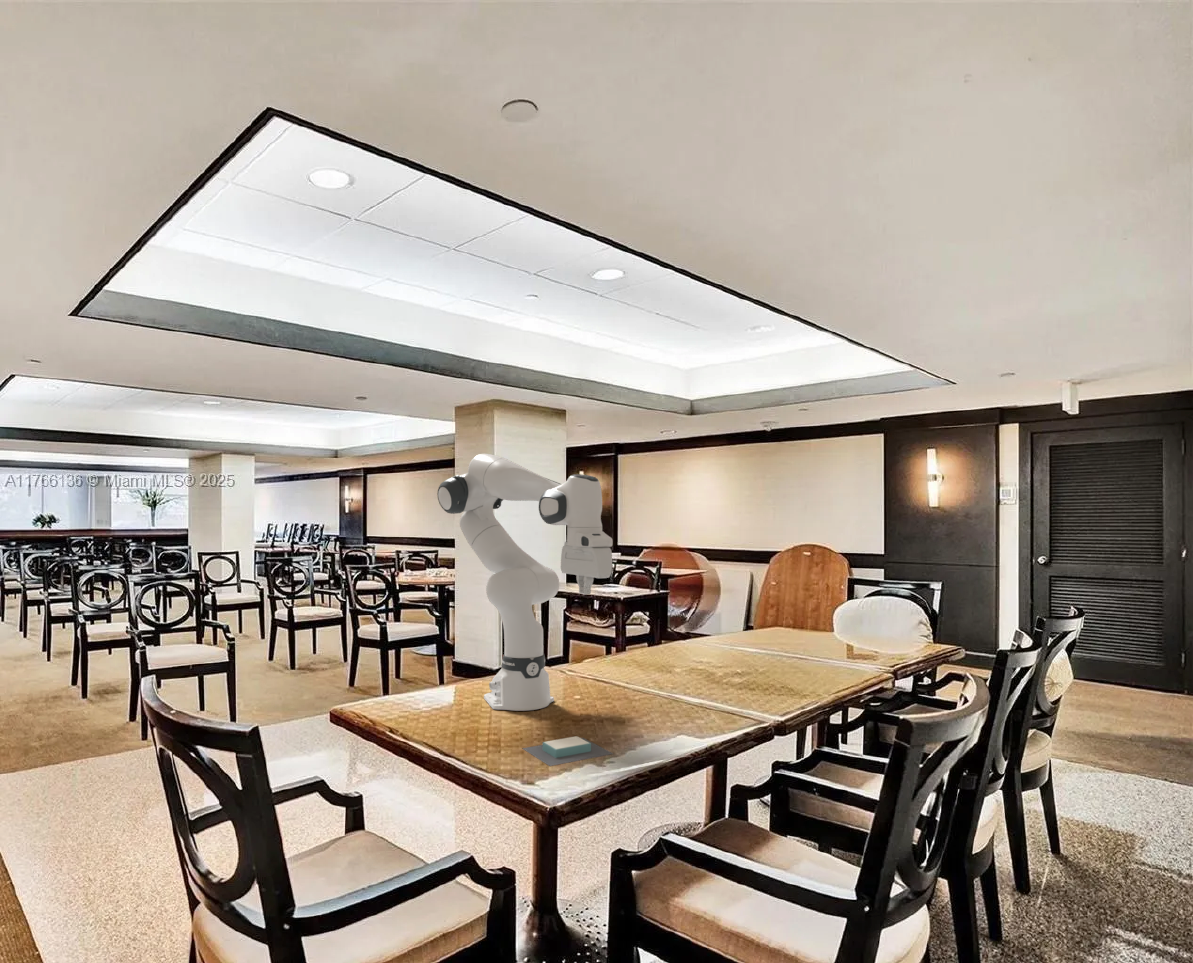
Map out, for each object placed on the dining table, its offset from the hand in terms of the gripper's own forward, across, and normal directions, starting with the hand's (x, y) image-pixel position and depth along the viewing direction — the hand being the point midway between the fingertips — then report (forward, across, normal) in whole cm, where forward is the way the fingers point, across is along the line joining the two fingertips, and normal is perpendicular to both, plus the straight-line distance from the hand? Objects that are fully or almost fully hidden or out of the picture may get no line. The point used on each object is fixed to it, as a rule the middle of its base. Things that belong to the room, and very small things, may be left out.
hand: (584, 594), depth 190 cm
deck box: (+33, +9, -12) cm, 36 cm away
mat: (+34, +13, -12) cm, 38 cm away
